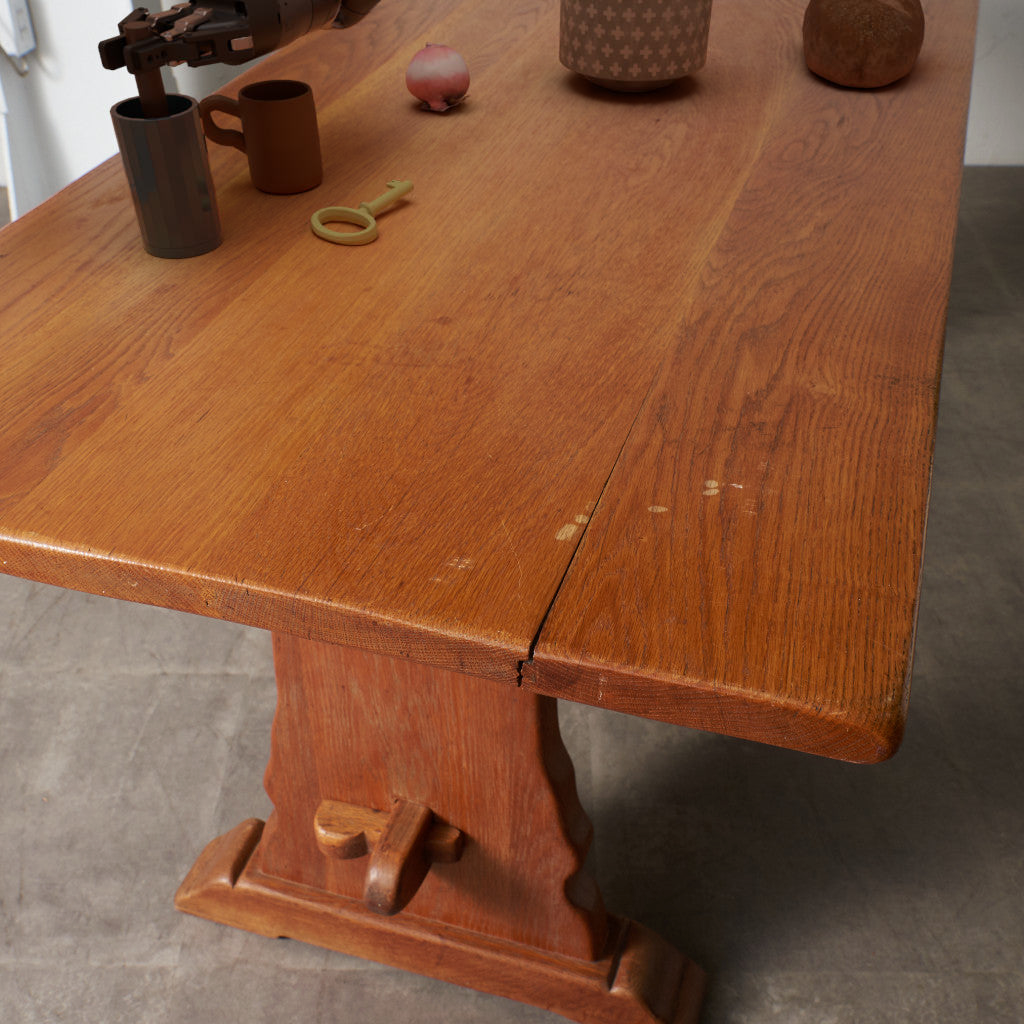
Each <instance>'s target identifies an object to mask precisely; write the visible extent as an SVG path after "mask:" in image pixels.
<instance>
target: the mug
mask: <svg viewBox="0 0 1024 1024" xmlns="http://www.w3.org/2000/svg"><path fill="white" fill-rule="evenodd" d="M313 94H314V93H313V89H312V87H311V86H310V85H309V84H308V83H306V82H305V81H300V80H294V79H268V80H261V81H256V82H252V83H249V84H246V85H245V86H243V87H241V88H240V89H239V90H238V92H237V99H234V98H231V97H230V96H229V97H228V96H226V95H223V94H211V95H208V96H206V97H204V98H202V99H200V101H199V102H198V103H199V108H200V113H201V119H202V124H203V129H204V134H205V138H207V139H208V140H209V141H211V142H212V143H214V144H217V145H219V146H223V147H230V148H231V147H232V148H234V149H236V150H238V151H240V152H241V153H243V155H246V157H247V163H248V169H249V174H250V178H251V181H252V183H253V185H254V186H255V187H256V188H257V189H258V190H261V191H262V192H266V193H269V194H275V195H276V194H277V195H288V194H298V193H301V192H305V191H308V190H312V189H313V188H315V187H316V186H318V185H319V184H320V183H321V181H322V180H323V178H324V177H323V175H324V167H323V160H322V152H321V142H320V133H319V125H318V119H317V118H318V116H317V109H316V103H315V99H314V95H313ZM216 111H217V112H221V113H223V114H226V115H229V116H232V117H235V118H237V119H239V120H240V124H241V129H242V131H240V130H237V129H234V128H222V127H220V126H218V125H217V124H216V123H215V121H214V119H213V118H212V114H211V113H212V112H216Z"/></svg>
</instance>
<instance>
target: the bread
mask: <svg viewBox="0 0 1024 1024" xmlns="http://www.w3.org/2000/svg"><path fill="white" fill-rule="evenodd" d="M802 21H803V22H802V26H801V32H802V34H801V35H802V43H803V50H804V56H805V57H804V58H805V62H806V65H807V67H808V68H809V69H810V70H811V72H813V73H815V74H816V75H818V76H820V77H822V78H824V79H826V80H828V81H830V82H833V83H835V84H837V85H840V86H846V87H851V88H864V89H868V88H869V89H870V88H881V87H884V86H887V85H889V84H891V83H894V82H896V81H898V80H899V79H902V78H903V77H906V75H908V74H909V72H911V70H912V68H913V67H914V66H915V65H916V62H917V61H918V58H919V56H920V53H921V50H922V46H923V44H924V39H925V27H926V21H925V15H924V9H923V5H922V2H921V0H809V2H808V4H807V6H806V8H805V10H804V15H803V20H802Z"/></svg>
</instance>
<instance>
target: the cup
mask: <svg viewBox="0 0 1024 1024" xmlns="http://www.w3.org/2000/svg"><path fill="white" fill-rule="evenodd" d="M165 94H166V98H167V103H168V108H169V112H170V116H169V117H162V118H154V119H144V115H143V110H142V106H141V102H140V97H139V95H136V96H132V97H128V98H125V99H123V100H119V101H118V102H116V103H114V104H113V105H111V106H110V109H109V115H110V119H111V123H112V127H113V132H114V135H115V139H116V143H117V146H118V151H119V155H120V160H121V163H122V166H123V172H124V175H125V178H126V183H127V187H128V191H129V195H130V199H131V204H132V208H133V212H134V215H135V219H136V224H137V227H138V231H139V235H140V238H141V242H142V245H143V249H144V250H145V252H147V253H148V254H150V255H152V256H154V257H158V258H163V259H185V258H193V257H197V256H201V255H204V254H206V253H207V254H208V253H209V252H212V251H213V250H215V249H217V248H218V247H219V246H220V245H221V244H223V242H224V239H225V235H224V230H223V221H222V218H221V212H220V208H219V207H220V206H219V202H218V201H219V200H218V197H217V191H216V186H215V182H214V176H213V171H212V165H211V160H210V156H209V151H208V145H207V140H206V136H205V134H204V129H203V124H202V119H201V113H200V108H199V103H200V102H199V101H198V100H197V98H195V97H193V96H190V95H187V94H183V93H174V92H165Z"/></svg>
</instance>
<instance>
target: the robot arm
mask: <svg viewBox="0 0 1024 1024" xmlns="http://www.w3.org/2000/svg"><path fill="white" fill-rule="evenodd" d="M381 2H382V0H188V2H180V3H177V4H174V5H171V6H170V8H169V9H168V10H164V11H160V12H156V13H152V14H151V12H149V9H148V8H147V7H143V6H140V7H139V6H138V7H137V8H135V9H133V10H132V11H131V12H130V13H129V14H127V15H126V16H125V17H124V18H122V19H121V21H119V22H118V23H117V29H118V33H119V35H116V36H112V37H109V38H107V39H104V40H100V41H99V42H98V43H97V50H98V54H99V58H100V62H101V65H102V68H103V69H105V70H108V71H112V72H113V71H116V70H119V69H122V68H126V70H127V73H128V74H129V75H141V74H143V73H146V72H149V71H151V70H154V69H157V68H159V67H160V68H162V67H165V66H167V67H172V68H175V67H178V66H181V65H183V64H185V63H186V65H187V67H189V68H192V69H197V68H199V67H206V66H212V65H217V64H224V65H227V66H234V67H235V66H241V65H244V64H247V63H249V62H251V61H254V60H256V59H259V58H261V57H263V56H264V57H265V56H266V55H268V54H269V55H270V54H271V53H273V52H277V51H278V50H281V49H284V48H285V47H288V46H289V45H291V44H293V43H295V41H297V40H299V39H300V38H303V37H305V36H308V35H310V34H313V33H315V32H319V31H320V30H321V31H344V30H348V29H351V28H353V27H355V26H356V25H358V24H360V23H362V22H363V21H364V20H365V19H366V18H367V17H368V16H369V15H370V14H371V13H372V12H373V10H374V9H375V8H376V7H378V5H379V4H380V3H381ZM137 21H144V22H148V23H150V25H151V29H152V34H153V37H150V38H148V39H144V40H142V41H139V42H136V43H133V44H130V45H127V42H126V38H125V33H124V29H123V25H124V24H126V23H130V22H137Z"/></svg>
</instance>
